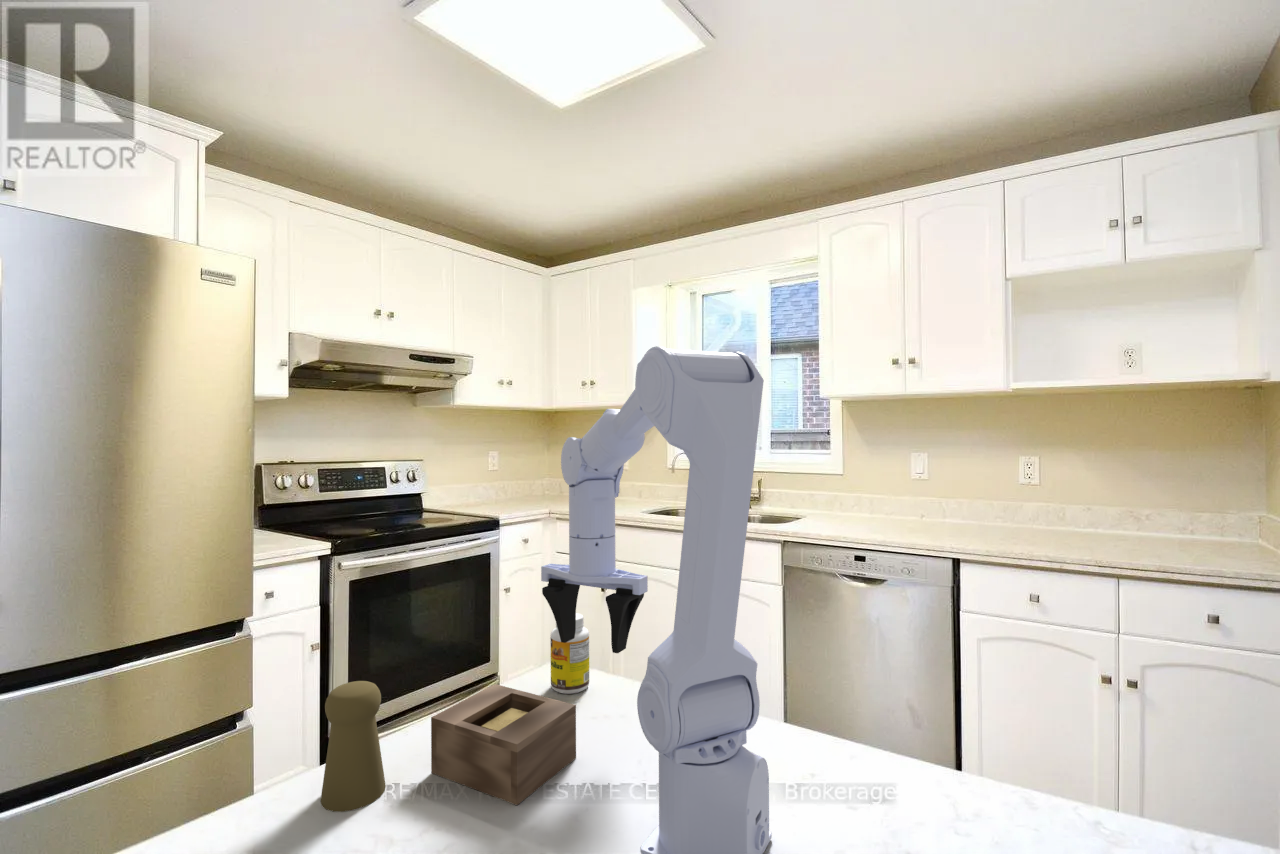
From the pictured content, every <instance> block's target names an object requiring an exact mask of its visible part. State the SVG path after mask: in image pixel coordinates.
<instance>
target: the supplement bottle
mask: <svg viewBox="0 0 1280 854" xmlns="http://www.w3.org/2000/svg"><path fill="white" fill-rule="evenodd" d="M549 639H550V686H551V688H552V690H554V691H555V692H557V693H560V694H563V695H564V694H565V695H567V694H569V695H571V694H578V693H580V692H583V691H584V690H587V688H588V687H589V685H590V631H589V629H588V628H587V627H585V625H584V615H583V614H582V613H580V612H576V631H575V638H574V639H572V640H570V641H568V642H566V643H563V642H561V639H560V635H559V631H558V627H557V624H556V623H555V627H554V628H553V629H552V630H551V631H550V638H549Z"/></svg>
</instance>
